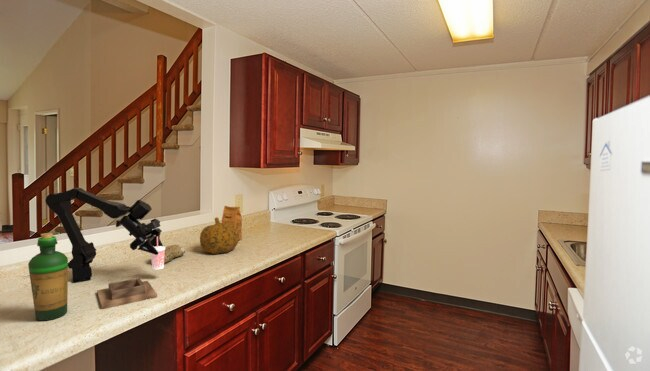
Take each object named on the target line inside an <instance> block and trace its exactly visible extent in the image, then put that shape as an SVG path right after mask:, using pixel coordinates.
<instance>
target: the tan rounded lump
mask: <svg viewBox="0 0 650 371" xmlns="http://www.w3.org/2000/svg"><path fill="white" fill-rule="evenodd" d="M164 247H165V254H164V264H166V263H168V262H170V261H172V260H173V259H175V258H179V257H182V256H184V254H185V253H186V249H185V248H184V246H181V245H179V244H172V245H170V244H169V245H168V246H164Z"/></svg>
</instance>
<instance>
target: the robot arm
mask: <svg viewBox="0 0 650 371" xmlns="http://www.w3.org/2000/svg"><path fill="white" fill-rule="evenodd" d="M73 200H78V201H80V202H83V203H85V204H88V205H89V206H92V207H94V208H97V209H99V210H100V211H101V212H102V213H103V214H104V215H106V216H107V217H109V218H110V219H114V220H115V219H118V220H116V221H115V223H116V224H115V227H116V228H119V227H121V226H122V227H123V228H125V230H127V231H128V232H129V233H128V235H129V236H133V237H134V238H135V239H134V240H133V241H132V242H131V243H130V244H129V248H130V249H131V250H132V251H135V250H137V251H138V250H139V251H143V252H146V253H150V254H151V253H152V254H155V255H157V254H158V251H157V250H156V249H155V248H154V247H155V246H157V236H158V246H164V245H163V243H162V241H161V238H160V236H161V233H162V230H161V228H160V227H161V220H159V219H157V218H153V219H150V222H149V223H147V224H146V223H145V222H140V220H143V219H144V218H146V216H148V214H149V213H150V212H151V211H152V210H153V209H152V207H151V205H150V204H149V203H146V202H145V201H143V200H141V199H137V200H136V201H134V204H133V205H132V206H127V205H126V204H125V203H122V202H118V201H113V200H107V199H106V198H105V199H104V198H102V197H101V196H99V195H96V194H94V193H91V192H89V191H88V190H85V189H83V188H81V187H73V188H71V189H68V190H65V191H62V192H54V193H50V194H47V196H46V197H45V200H44V201H45V204H46V205H47V207H48V208H49V210H50V211H52V212H53V213H54V214H56V215H57V217H58V219H59V222H60V223H61V225H62V228H63V230H64V231H65V233H66V235H67V238H68V239H69V242H70V244H71V256H72V259H70V261H68V270H69V269H71V273H72V274H71V276H72V278H71V282H72V283H80V282H86V281H90V280H92V277H93V273H92V271H93V270H92V266H91V265H90V264H92V263H93V261H94V259H95V258H96V255H97V249H96V247H95V245H94V243H93V242H92V241H91V242H88V241H87V240H86V239H85V237H84V236H83V233H82V232H81V229H80V227H79V225H78V222H77V221H76V219H75V216H74V215H73V212H72V201H73ZM119 218H120V219H119Z"/></svg>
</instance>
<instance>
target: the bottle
mask: <svg viewBox="0 0 650 371" xmlns="http://www.w3.org/2000/svg"><path fill="white" fill-rule="evenodd" d="M36 243H37V244H36V247H39V253H37V254H35V255H34V256H32V257H31V259H30V260H29V262H28V264H27V265H28V266H27V267H28V274H29V279H30V280H29V281H30V287H31V293H32V300H33V307H34V315H35V320H38V321H51V320H52V321H53V320H54V319H55V320H56V319H58V318H61V317H63V316H65V315H66V313H68V285H69V284H68V283H69V282H68V280H69V279H68V277H69V273H68V272H69V271H68V270H69V268H68V263H69V260H68V256H67V255H66V254H64V253H63V252H61V251H58V250H56V245H57V244H58V240H57V237H56V236H55V235H54V232H45V233H40V237H38V238H37V242H36Z"/></svg>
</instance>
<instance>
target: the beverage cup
mask: <svg viewBox="0 0 650 371" xmlns="http://www.w3.org/2000/svg"><path fill="white" fill-rule="evenodd" d="M153 247H154V246H153ZM165 247H166V246H164V245H163V246H158V236H157V246H155V247H154V248H155V249H156V250H157V251H158V254H157V255H155V254H152V253H150V259H151V268H152V270H154V271H155V270H156V271H157V270H163V269H164V268H165V263H164V254H165Z"/></svg>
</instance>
